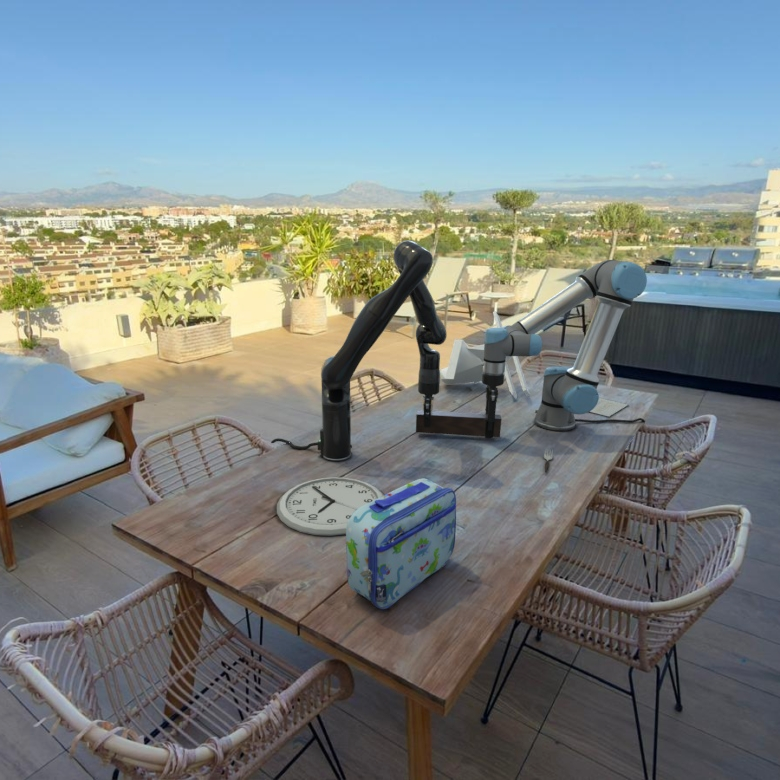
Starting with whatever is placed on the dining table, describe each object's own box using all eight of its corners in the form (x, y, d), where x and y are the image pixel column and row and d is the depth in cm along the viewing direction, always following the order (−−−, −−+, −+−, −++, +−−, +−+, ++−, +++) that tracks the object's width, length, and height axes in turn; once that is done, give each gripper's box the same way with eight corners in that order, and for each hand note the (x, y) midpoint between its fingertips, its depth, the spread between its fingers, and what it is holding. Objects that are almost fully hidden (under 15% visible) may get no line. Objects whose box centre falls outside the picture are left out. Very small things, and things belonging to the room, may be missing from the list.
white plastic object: (461, 429, 252) (437, 405, 227) (444, 352, 274) (420, 323, 250) (535, 404, 240) (518, 377, 215) (510, 326, 262) (492, 293, 237)
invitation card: (608, 416, 214) (573, 407, 224) (608, 416, 214) (573, 408, 224) (628, 404, 229) (594, 396, 238) (628, 405, 229) (594, 397, 238)
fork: (540, 473, 163) (541, 467, 163) (544, 453, 178) (545, 448, 177) (549, 474, 162) (550, 468, 162) (552, 454, 177) (553, 449, 176)
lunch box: (375, 622, 100) (376, 527, 94) (339, 595, 108) (338, 505, 101) (459, 565, 118) (465, 481, 112) (424, 545, 125) (427, 465, 119)
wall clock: (392, 527, 129) (268, 531, 127) (391, 533, 130) (269, 537, 127) (383, 473, 158) (282, 475, 155) (383, 478, 158) (282, 480, 156)
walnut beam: (498, 432, 190) (500, 414, 188) (499, 437, 186) (501, 419, 184) (416, 428, 193) (417, 410, 191) (415, 432, 189) (416, 414, 187)
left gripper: (419, 373, 192) (418, 417, 197) (417, 384, 179) (415, 431, 184) (440, 374, 191) (438, 418, 197) (439, 385, 178) (436, 432, 183)
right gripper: (481, 366, 190) (477, 425, 197) (483, 379, 174) (479, 444, 181) (502, 366, 190) (497, 426, 197) (506, 380, 173) (501, 445, 180)
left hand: (427, 424), depth 190 cm, fingers closed on walnut beam, 4 cm apart
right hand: (488, 434), depth 189 cm, fingers closed on walnut beam, 4 cm apart
